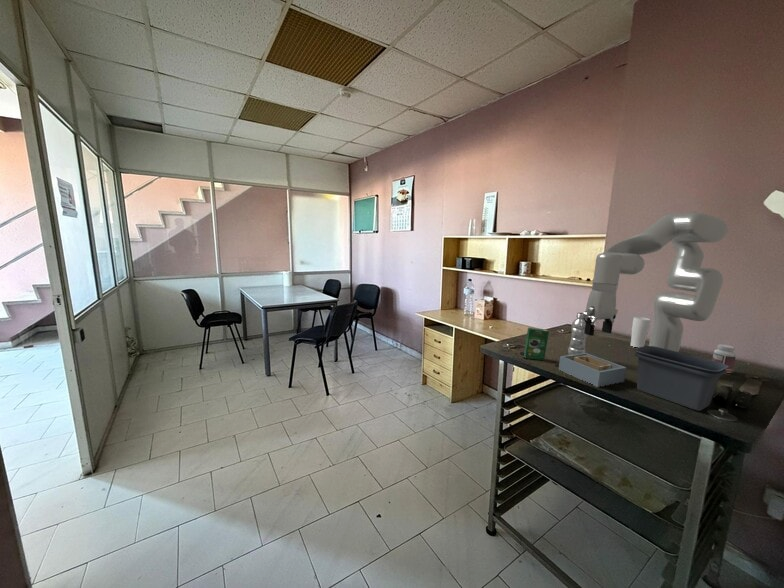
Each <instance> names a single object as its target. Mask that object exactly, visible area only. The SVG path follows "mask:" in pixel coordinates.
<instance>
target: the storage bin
mask: <svg viewBox="0 0 784 588" xmlns="http://www.w3.org/2000/svg"><path fill="white" fill-rule="evenodd" d="M634 351H635V353H634V356H635V357H637V358H638V362H637V363H638V364H637V382H636V383H637V384H636V388H637V390H638V391H640V392H643V393H646V394H649V395H652V396H655V397H657V398H661V399H663V400H666V401H669V402H671V403H675V404H677V405H679V406H683V407H685V408H688V409H691V410H694V411H698V412H701V411H702V410H704V409H706V408H707V407H709V406H710V405H711V403H712V398H713V397H714V394H715V391H716V389H717V385H718V383H719V380H720V377H721V376H724V375H727V374H726V373H727V370H726V368H728V367H729V366H728V365H726V364H723V363H719V362H716V361H712V359H709V358H703V357H699V356H696V355H692V354H688V353H683V352H680V351H679V352H676V351H672V350H668V349H664V348H659V347H654V346H649V345H644V346H643V347H639V348H634Z"/></svg>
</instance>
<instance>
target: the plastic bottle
mask: <svg viewBox="0 0 784 588" xmlns="http://www.w3.org/2000/svg"><path fill="white" fill-rule="evenodd" d="M583 313H584V312H577V314H576V318H575V319H574V320H573V321H572V323H571V337H570V343H569V346H568V348H567V349H568V350H567V355H574V354H581V353H586V339H587V336H588V335H587V334H585V333H584V331H585V324H586V323H585V321H584V316H583Z"/></svg>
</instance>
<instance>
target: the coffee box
mask: <svg viewBox="0 0 784 588" xmlns="http://www.w3.org/2000/svg"><path fill="white" fill-rule="evenodd" d="M525 338H526V339H525V344H524V345H525V346H524V350H523V358H524V357H525V358H524V359H529V360H537V361H545V357H546V352H547V347H548V346H547V345H548V339H549V330H548V329H544V328H535V327H527V332H526V337H525Z"/></svg>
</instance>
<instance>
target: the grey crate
mask: <svg viewBox="0 0 784 588" xmlns="http://www.w3.org/2000/svg"><path fill="white" fill-rule="evenodd" d="M586 355H587V356H589V357H592V358H595V359H597V360H600V361H603V362H606V363H608V364H611V365H612V369H609V370H603V371H598V370H595V369H593V368H590V367H588V366H585V365H583V364H580V363H578V362H575V361H573V360H574V357H579V356H586ZM558 369H559V370H558V371H560V370H561V372H562V371H563V372H562V373H564V374H568V375H570V376H571V375H572V377H574V378H576V379H578V380H580V381H582V380H583V381H582V382H585V381H586V382H585V383H587V382H588V383H587V384H589V383H591V384H593V385H592V386H594V387H596V388H601V387H605V385H606V386H610V384H611V385H614V384H615V383H616V384H619V383H620V382H621V383H624V382H625V380H626V374H627V373H626V372H627V367H626V366H623V365H620V364H618V363H615V362H613V361H609V360H606V359H604V358H601V357H598V356H595V355H594V354H591V353H587V352H585V353H581V354H574V355H568V354H567V355H560V357H559V364H558ZM591 384H590V385H591ZM616 384H615V385H616ZM600 386H601V387H600Z"/></svg>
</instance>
